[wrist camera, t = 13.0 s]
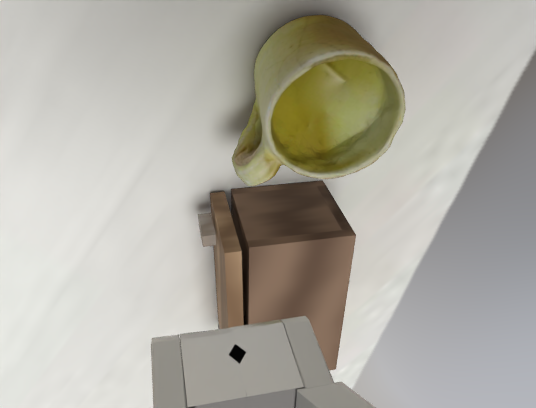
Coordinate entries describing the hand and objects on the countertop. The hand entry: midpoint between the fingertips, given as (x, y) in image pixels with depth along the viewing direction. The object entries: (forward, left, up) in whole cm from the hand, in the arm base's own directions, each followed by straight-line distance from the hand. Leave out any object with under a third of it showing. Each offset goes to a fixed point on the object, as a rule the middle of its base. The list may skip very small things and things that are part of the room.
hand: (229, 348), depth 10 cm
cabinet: (-9, +22, -29) cm, 37 cm away
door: (-3, +22, -29) cm, 37 cm away
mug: (-9, +6, -29) cm, 31 cm away
